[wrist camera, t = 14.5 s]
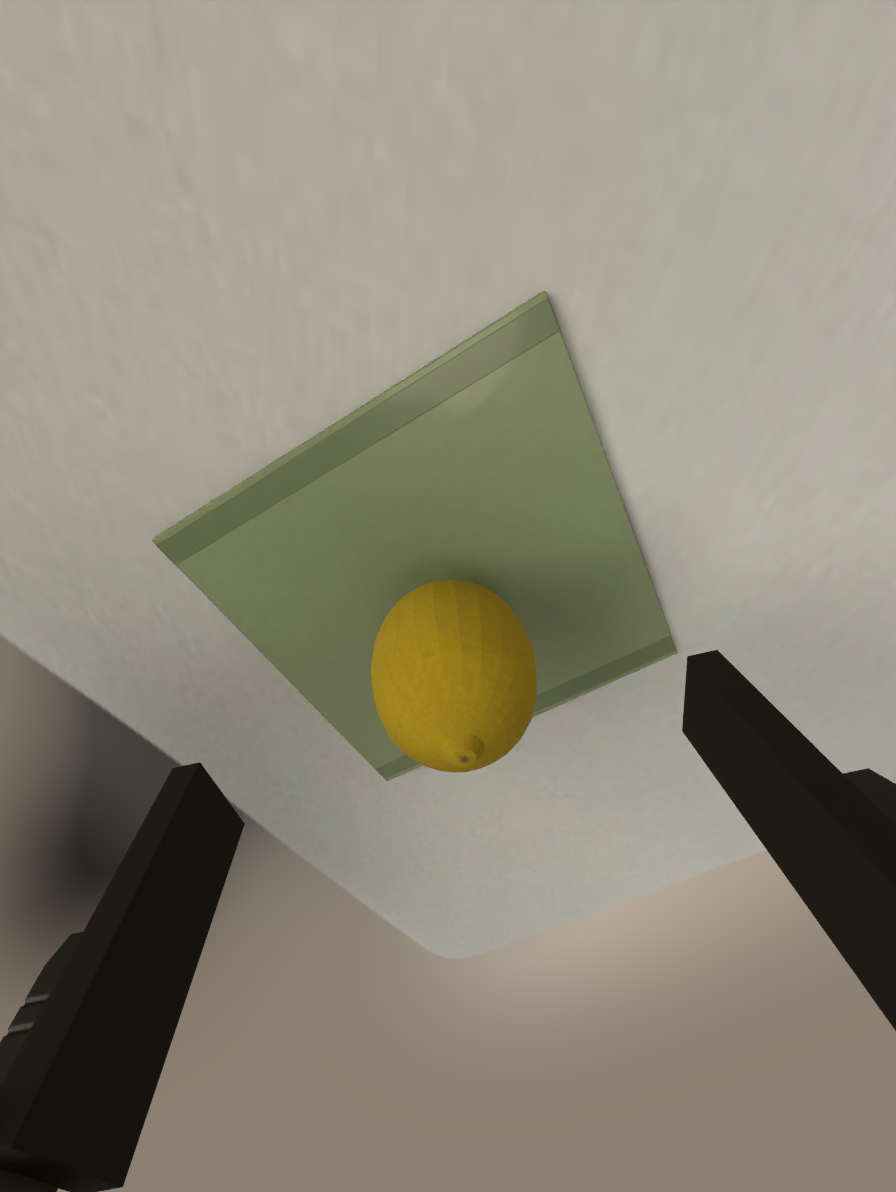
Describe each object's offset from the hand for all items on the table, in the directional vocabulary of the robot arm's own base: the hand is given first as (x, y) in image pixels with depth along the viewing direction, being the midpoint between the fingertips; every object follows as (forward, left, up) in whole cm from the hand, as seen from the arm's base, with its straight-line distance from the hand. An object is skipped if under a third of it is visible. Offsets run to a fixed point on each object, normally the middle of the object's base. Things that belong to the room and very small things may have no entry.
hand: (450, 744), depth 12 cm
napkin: (0, 0, -8) cm, 8 cm away
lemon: (0, 0, -8) cm, 8 cm away
